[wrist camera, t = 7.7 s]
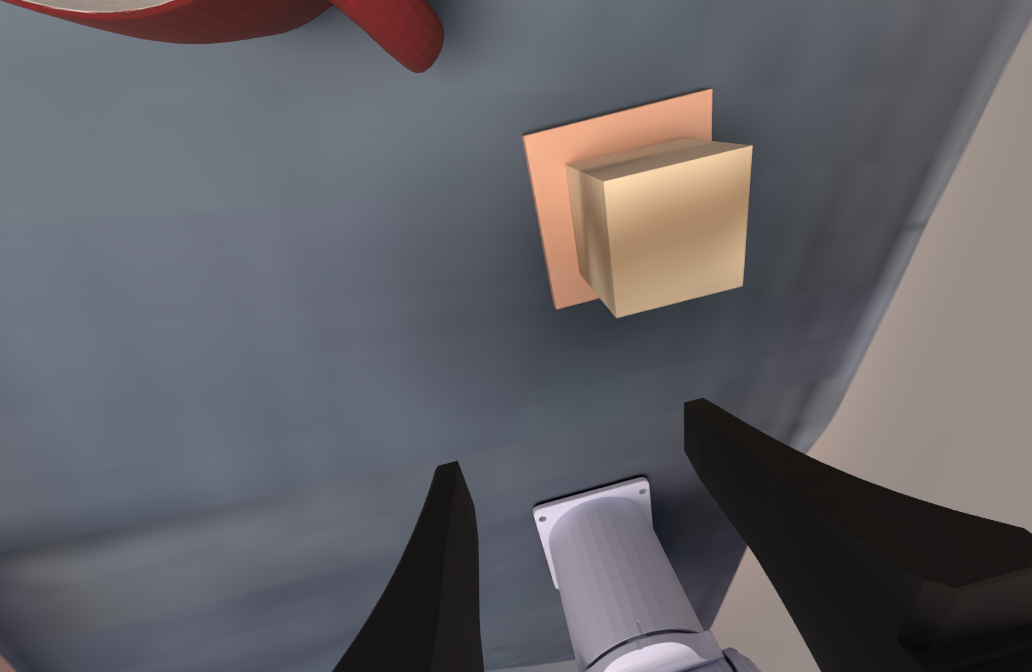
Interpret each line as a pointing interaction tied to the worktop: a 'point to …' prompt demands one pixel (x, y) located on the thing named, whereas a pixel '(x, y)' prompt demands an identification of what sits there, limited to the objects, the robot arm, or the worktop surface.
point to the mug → (256, 21)
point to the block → (661, 221)
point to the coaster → (589, 141)
